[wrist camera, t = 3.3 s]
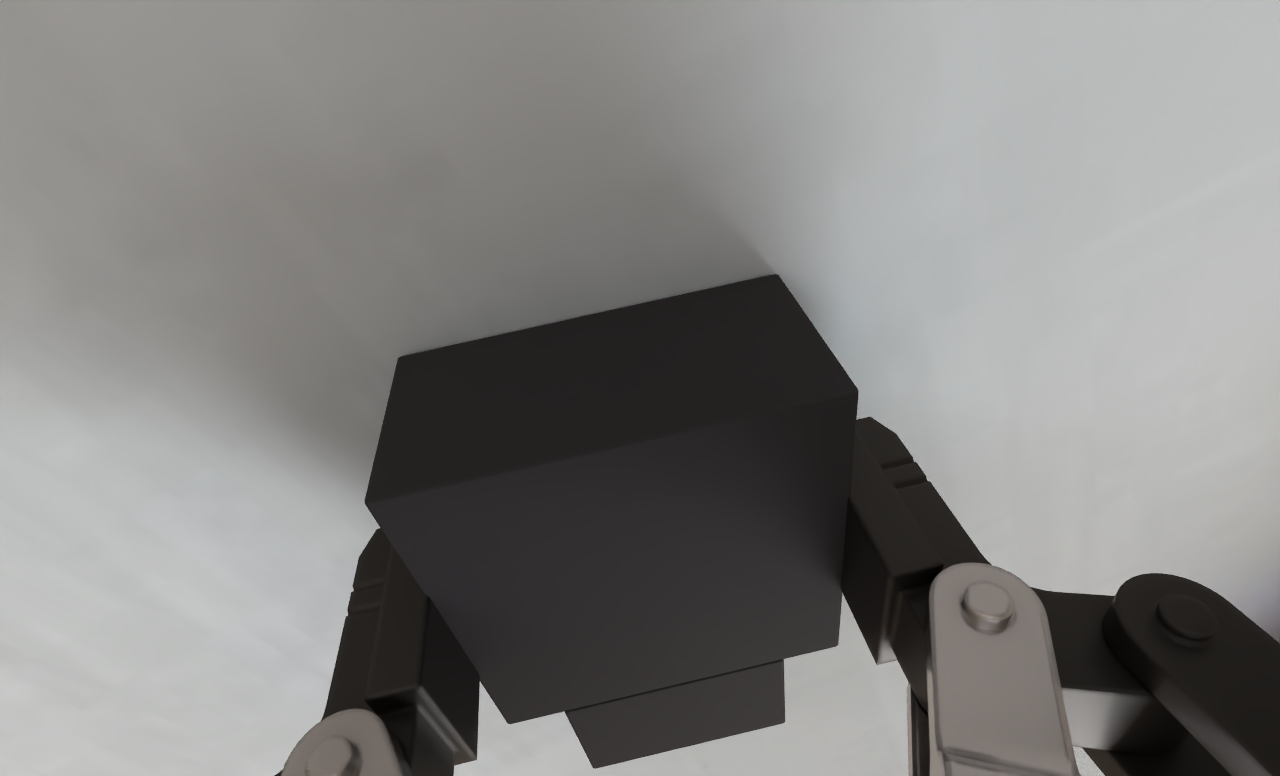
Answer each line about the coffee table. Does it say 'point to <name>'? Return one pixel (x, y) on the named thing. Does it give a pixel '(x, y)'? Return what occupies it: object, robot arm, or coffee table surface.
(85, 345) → the coffee table surface
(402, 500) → the small pad
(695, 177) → the coffee table surface
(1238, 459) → the coffee table surface
